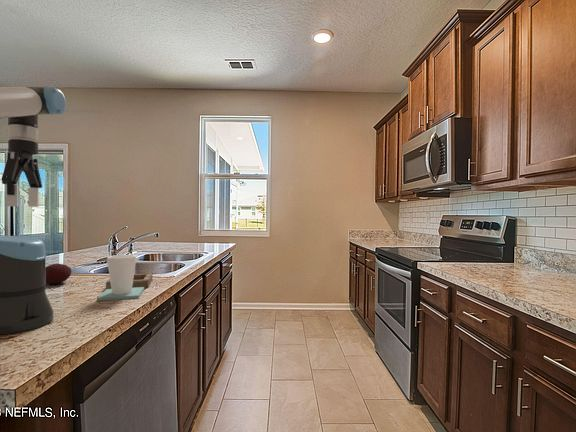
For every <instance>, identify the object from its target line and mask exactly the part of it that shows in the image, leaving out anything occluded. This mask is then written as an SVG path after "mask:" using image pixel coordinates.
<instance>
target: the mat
mask: <svg viewBox="0 0 576 432" xmlns="http://www.w3.org/2000/svg"><path fill="white" fill-rule="evenodd" d="M144 291H145V288H144V287H135V288H132V291H131V292H130V293H126V294H113V293H112V289H106V288H105V290H104V291H103V292H102V293H101V294H100V295H98V296H97V298H96V300H97V302H98V301H99V302H101V301H115V300H117V301H118V300H129V299H132V300H133V299H140V297H141V295H142V294H143V292H144Z"/></svg>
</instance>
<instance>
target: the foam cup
mask: <svg viewBox="0 0 576 432" xmlns="http://www.w3.org/2000/svg"><path fill="white" fill-rule="evenodd" d="M136 263H137V255H135V254H117V255H109V256H107V257H106V265H107V269H108V274H109V279H110V282H111V289H112V293H113V294H126V293H130V292H131V291H132V285H133V278H134V274H135V269H136Z"/></svg>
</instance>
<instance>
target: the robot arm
mask: <svg viewBox="0 0 576 432" xmlns="http://www.w3.org/2000/svg"><path fill="white" fill-rule="evenodd" d="M66 101H67V100H66V98H65V95H64V93H63V92H62V91H61V89H58V88H57V87H52V86H51V87H48V86H6V85H4V86H3V85H2V86H0V120H1V119H7V120H8V124H7V125H8V128H7V129H6V131H7V133H8V139H9V140H8V142H7V143H8V144H7V145H8V146H7V149H8V152H7V158H6V162H5V166H4V170H3V172H2V176H1V183H2V185H5V187H6V190H5V191H6V195H5V196H6V202H5V204H6V207H19V184H17V183H18V181H19V179H20V177H21V175H22V173H24V175H25V177H26V180H27V183H28V186H29V187H27V189H28V193H27V194H28V200H27V201H28V205H27V206H28V207H29V208H30V207H31V208H38V207H39V206H40V205H39V203H40V202H39V201H40V200H39V199H40V197H39V196H40V195H39V194H40V190H39V189H40V188H41V189H42V188H43V184H42V178H41V173H40V169H39V166H38V165H39V162H38V159H37V158H33V155H38V153H39V143H38V142H39V116H40V115H51V116H53V115H61V114H63V113H64V112H66V109H67V102H66ZM46 261H47V253H46V245H45V243H44V241H43V240H42V239H39V238H36V237H30V236H22V235H20V236H18V235H16V236H15V235H0V335H7V334H14V333H21V332H26V331H29V330H30V331H31V330H34V329H38V328H40V327H44V326H45V325H47V324H50V323H52V322H53V320H54V310H53V309H54V308H53V306H52V305H51V302H50V299H49V298H48V295H47V293H46V292H47V291H46V285H47V284H46V267H47V266H46V263H47V262H46Z"/></svg>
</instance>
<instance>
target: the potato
mask: <svg viewBox="0 0 576 432" xmlns="http://www.w3.org/2000/svg"><path fill="white" fill-rule="evenodd" d="M71 275H72V268H71V267H70V266H68V264H67V265H66V264H63V263H53V264H49V265H47V266H46V284H45V285H57V284H58V285H59V284H61V283H64V282H65V281H67V280H68V279H69V278H70V277H71Z"/></svg>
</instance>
